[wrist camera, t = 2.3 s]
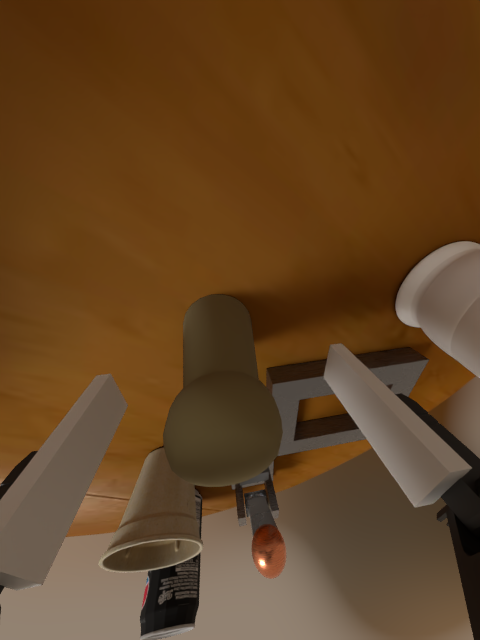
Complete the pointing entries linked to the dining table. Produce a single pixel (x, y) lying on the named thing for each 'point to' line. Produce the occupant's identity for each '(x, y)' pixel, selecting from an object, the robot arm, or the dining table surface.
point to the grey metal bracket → (269, 491)
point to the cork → (221, 400)
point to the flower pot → (155, 522)
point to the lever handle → (265, 536)
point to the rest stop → (257, 478)
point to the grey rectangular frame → (308, 382)
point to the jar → (446, 301)
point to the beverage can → (172, 595)
